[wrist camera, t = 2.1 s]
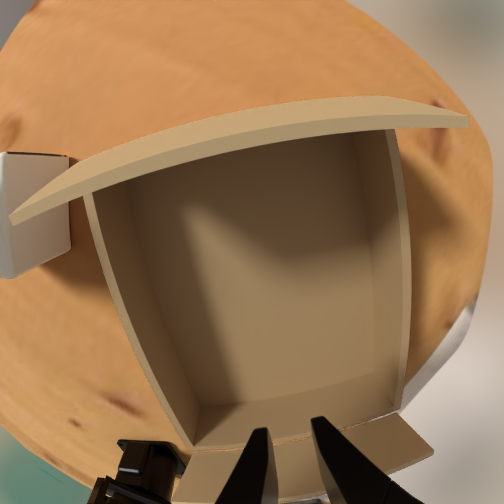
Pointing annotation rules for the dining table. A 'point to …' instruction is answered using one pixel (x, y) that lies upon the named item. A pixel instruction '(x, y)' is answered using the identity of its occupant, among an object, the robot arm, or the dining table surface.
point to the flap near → (234, 140)
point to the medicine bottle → (35, 228)
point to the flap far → (305, 462)
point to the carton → (264, 284)
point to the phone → (307, 502)
